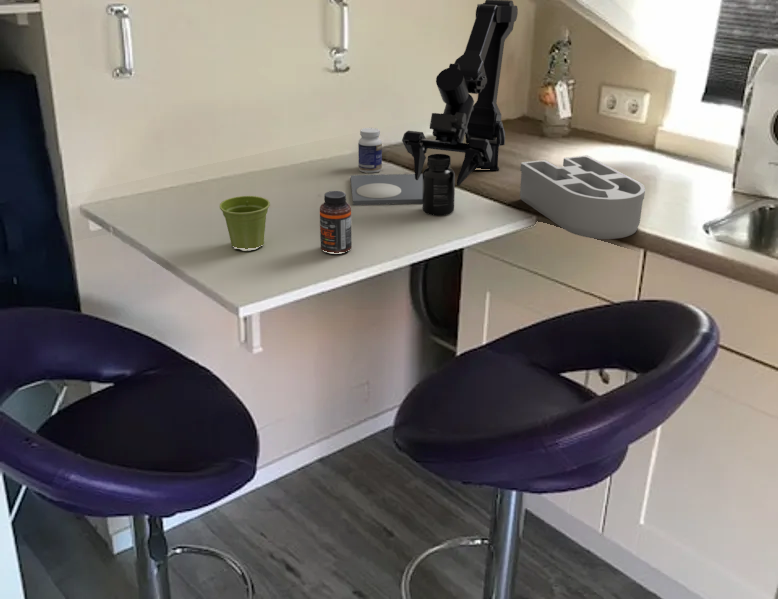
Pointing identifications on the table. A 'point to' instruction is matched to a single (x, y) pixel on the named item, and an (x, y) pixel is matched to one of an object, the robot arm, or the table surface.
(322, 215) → the supplement bottle
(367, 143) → the pill bottle
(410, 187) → the board
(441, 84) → the robot arm
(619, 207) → the grey compartment organizer
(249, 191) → the table surface
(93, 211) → the table surface
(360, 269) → the table surface
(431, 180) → the supplement bottle
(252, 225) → the plant pot
